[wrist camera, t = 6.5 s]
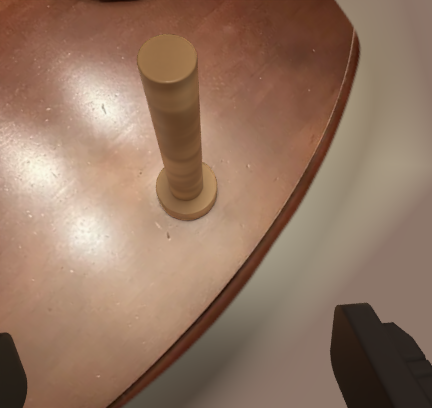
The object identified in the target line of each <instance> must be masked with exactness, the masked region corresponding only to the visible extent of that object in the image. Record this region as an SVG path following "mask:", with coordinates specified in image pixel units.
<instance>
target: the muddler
mask: <svg viewBox="0 0 432 408" xmlns="http://www.w3.org/2000/svg"><path fill="white" fill-rule="evenodd" d="M137 65H138V69H139V73H140V77H141V81H142V84H143V88H144V92H145V96H146V99H147V103H148V107H149V111H150V115H151V118H152V122H153V126H154V130H155V133H156V137H157V141H158V145H159V149H160V152H161V156H162V160H163V164H164V168H163V169H162V170H161V172H160V174H159V176H158V178H157V182H156V192H157V196H158V199H159V201H160V204H161V206H162V207H163V209H164V210H165V211H166V212H167V213H168V214H169V215H171V216H173V217H174V218H177V219H181V220H193V219H197V218H200V217H202V216H203V215H205V214H206V213H207V212H208V211H209V210H210V209H211V208H212V207H213V205H214V203H215V200H216V196H217V180H216V177H215V175H214V173H213V171H212V170H211V168H210V167H209V166H208V165H206V164H205V163H204V162H202V148H201V126H200V104H199V82H198V60H197V53H196V50H195V48H194V47H193V45H192V44H191V43H190V42H189V41H188V40H186V39H185V38H183V37H181V36H178V35H174V34H162V35H158V36H155V37H153V38H151V39H149V40H148V41H146V42H145V43H144V44H143V45H142V47H141V48H140V50H139V52H138V55H137Z"/></svg>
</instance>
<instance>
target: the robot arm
mask: <svg viewBox="0 0 432 408" xmlns="http://www.w3.org/2000/svg"><path fill="white" fill-rule="evenodd" d="M330 355H331V363H332V368H333V371H334V375H335V378H336V380H337V383H338V385H339V388H340V390H341V392H342V395H343V397H344V400H345V402H346V405H347V407H348V408H432V365H431V364H430V362H429V361H428V360H426V358H425V355H424V354H423V352H422V351H421V349H420V348H419V347H418V345H417V343H416V342H415V341H414V339H413V338H412V337H411V336H410V335H409V334H407V333H406V332H405V331H403V330H402V329H401V328H399V327H398V326H397V325H396V324H394V323H393V322H392V323H381V321H380V319H379V318H378V316H377V315H376V313H375V312H374V310H373V309H372V307H371V306H370V305H369V304H368V303H358V304H345V305H337V306H336V307H335V311H334V320H333V330H332V339H331V348H330ZM26 395H27V378H26V374H25V371H24V369H23V366H22V363H21V361H20V358H19V355H18V352H17V350H16V347H15V344H14V342H13V339H12V337H11V335H10V334H9V333H0V408H23V405H24V403H25V399H26Z"/></svg>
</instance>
